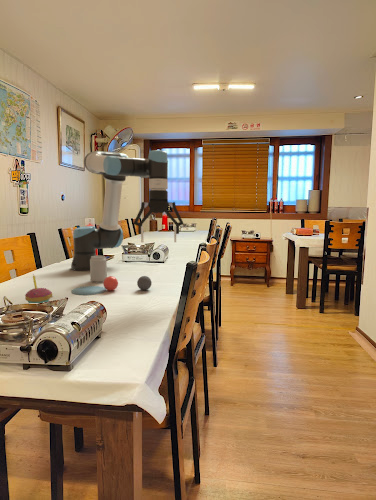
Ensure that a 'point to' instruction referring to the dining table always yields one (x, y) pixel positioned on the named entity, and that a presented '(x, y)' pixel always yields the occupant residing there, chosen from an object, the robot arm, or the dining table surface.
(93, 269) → the can
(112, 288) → the object ball
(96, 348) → the dining table surface
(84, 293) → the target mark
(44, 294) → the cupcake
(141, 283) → the dark grey ball
